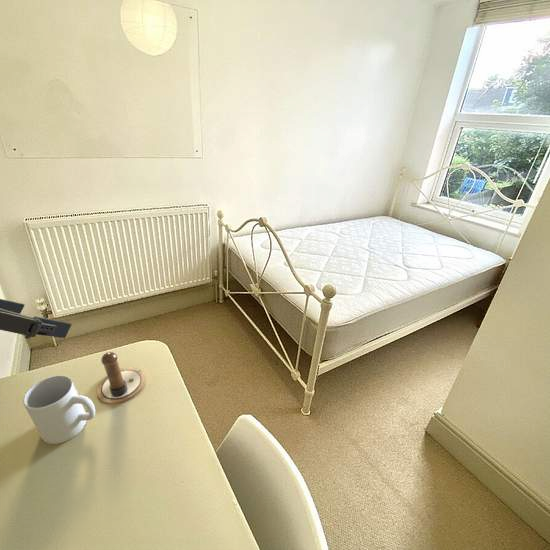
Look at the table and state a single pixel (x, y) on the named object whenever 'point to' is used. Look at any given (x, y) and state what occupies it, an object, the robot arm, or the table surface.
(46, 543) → the table surface
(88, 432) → the table surface
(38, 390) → the mug
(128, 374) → the face mat
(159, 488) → the table surface
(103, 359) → the stamp
